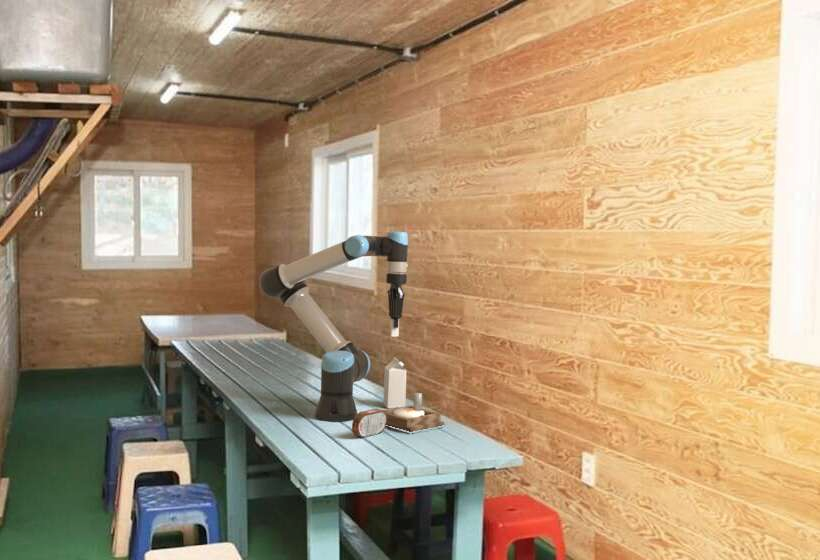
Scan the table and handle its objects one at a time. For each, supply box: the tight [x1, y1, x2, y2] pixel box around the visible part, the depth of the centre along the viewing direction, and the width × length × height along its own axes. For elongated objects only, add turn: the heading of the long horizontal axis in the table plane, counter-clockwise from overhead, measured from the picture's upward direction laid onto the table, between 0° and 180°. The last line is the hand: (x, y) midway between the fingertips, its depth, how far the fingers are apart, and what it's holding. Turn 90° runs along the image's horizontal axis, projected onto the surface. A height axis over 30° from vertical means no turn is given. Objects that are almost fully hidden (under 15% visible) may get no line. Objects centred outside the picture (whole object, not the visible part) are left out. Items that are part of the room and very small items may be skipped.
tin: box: [351, 408, 387, 438], centre depth 254 cm, size 15×3×8 cm, turn 141°
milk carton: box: [383, 356, 407, 409], centre depth 298 cm, size 7×7×19 cm
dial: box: [393, 392, 424, 418], centre depth 270 cm, size 11×11×8 cm
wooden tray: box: [381, 405, 445, 432], centre depth 270 cm, size 16×20×5 cm
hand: (394, 336), depth 284 cm, fingers closed
